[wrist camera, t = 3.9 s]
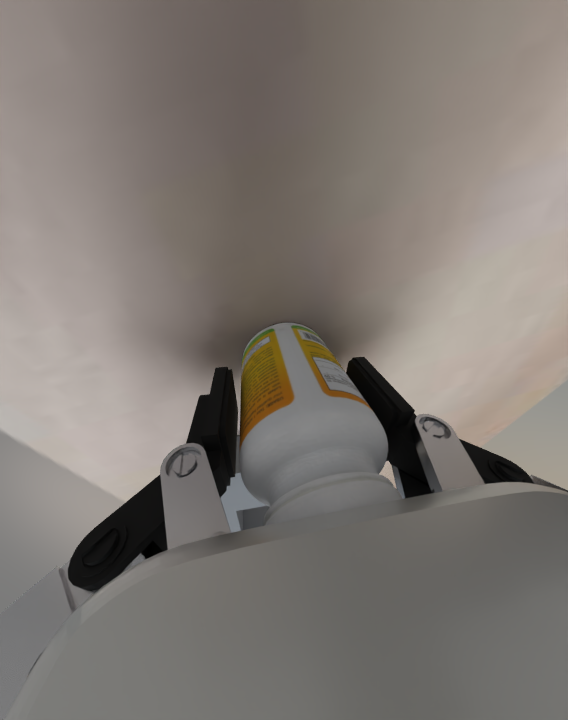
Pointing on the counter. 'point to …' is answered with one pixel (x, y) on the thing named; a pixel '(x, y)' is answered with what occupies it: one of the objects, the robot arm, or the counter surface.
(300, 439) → the supplement bottle
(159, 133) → the counter surface
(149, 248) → the counter surface
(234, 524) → the socket block
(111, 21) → the counter surface
